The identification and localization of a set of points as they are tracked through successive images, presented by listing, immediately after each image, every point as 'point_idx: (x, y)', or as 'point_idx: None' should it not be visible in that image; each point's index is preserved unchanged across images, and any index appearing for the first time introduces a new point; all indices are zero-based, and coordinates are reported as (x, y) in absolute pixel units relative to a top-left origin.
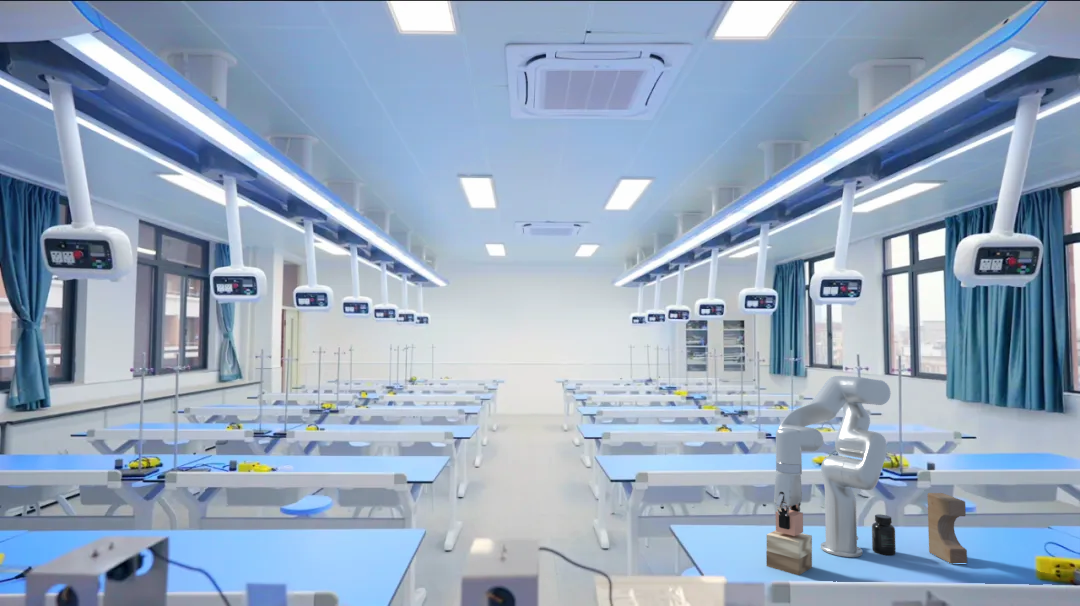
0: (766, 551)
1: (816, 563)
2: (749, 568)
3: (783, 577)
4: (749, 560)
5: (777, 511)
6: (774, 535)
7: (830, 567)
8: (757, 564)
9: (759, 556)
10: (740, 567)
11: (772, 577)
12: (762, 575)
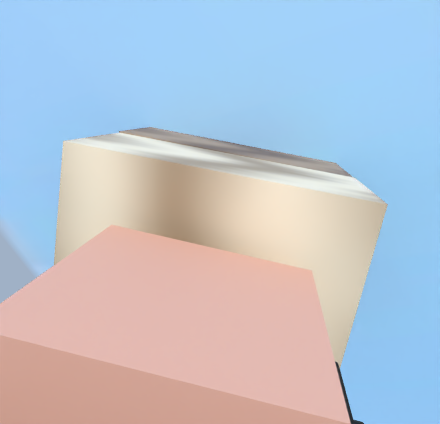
0: (120, 131)
1: (373, 342)
2: (49, 55)
3: (51, 239)
4: (179, 9)
5: (25, 350)
6: (88, 211)
7: (350, 404)
8: (143, 74)
9: (297, 38)
10: (27, 5)
11: (13, 195)
12: (2, 146)
